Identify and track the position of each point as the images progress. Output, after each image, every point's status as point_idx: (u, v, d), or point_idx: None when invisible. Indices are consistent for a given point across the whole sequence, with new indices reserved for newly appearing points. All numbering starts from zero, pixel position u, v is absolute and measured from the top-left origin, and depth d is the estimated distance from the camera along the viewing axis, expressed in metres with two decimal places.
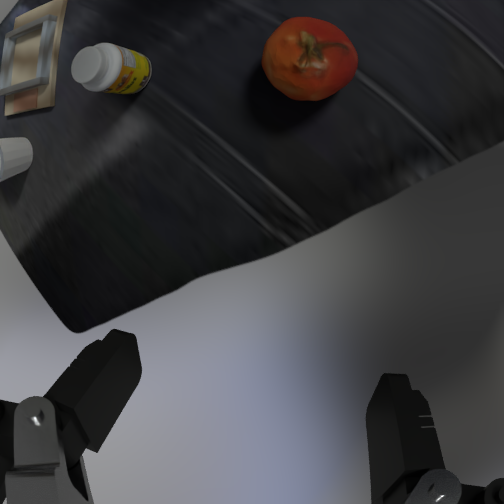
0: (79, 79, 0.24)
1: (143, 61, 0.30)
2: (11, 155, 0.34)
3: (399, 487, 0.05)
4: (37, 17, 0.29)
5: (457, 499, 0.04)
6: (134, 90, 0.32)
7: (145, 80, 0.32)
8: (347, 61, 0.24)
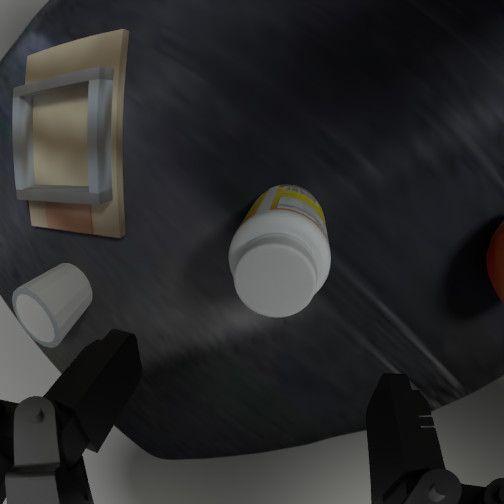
0: (259, 308, 0.16)
1: (324, 220, 0.21)
2: (66, 312, 0.26)
3: (399, 487, 0.05)
4: (70, 62, 0.20)
5: (457, 499, 0.04)
6: None
7: None
8: None
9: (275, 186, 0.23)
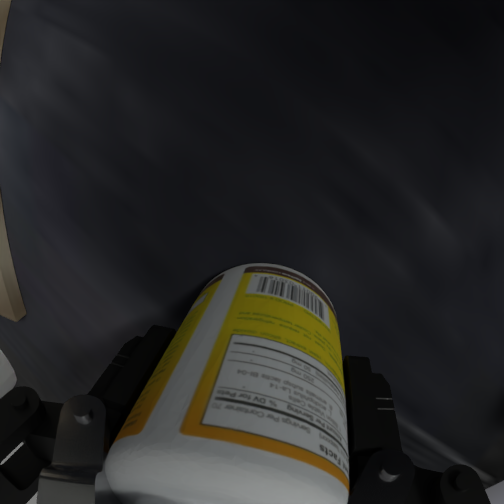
0: None
1: None
2: None
3: (353, 466, 0.06)
4: None
5: (409, 481, 0.05)
6: None
7: None
8: None
9: (238, 267, 0.11)
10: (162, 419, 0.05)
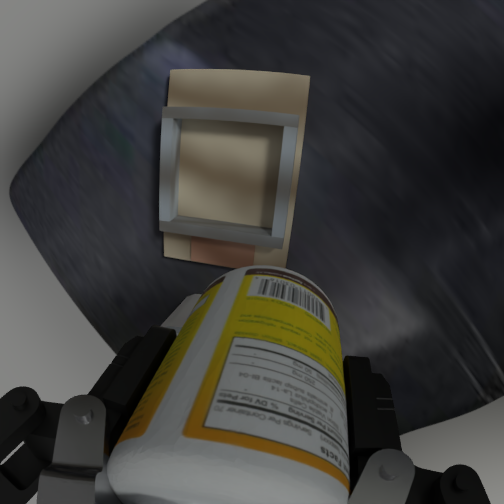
0: None
1: (341, 353, 0.09)
2: None
3: (353, 466, 0.06)
4: (240, 93, 0.24)
5: (409, 481, 0.05)
6: None
7: None
8: None
9: (239, 269, 0.11)
10: (164, 422, 0.05)
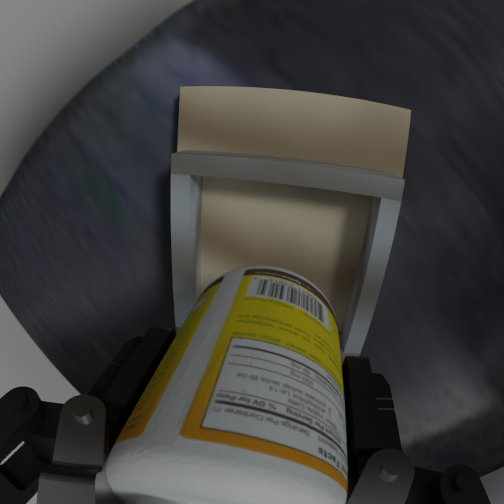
0: None
1: (340, 354, 0.09)
2: None
3: (353, 466, 0.06)
4: (300, 131, 0.15)
5: (409, 481, 0.05)
6: None
7: None
8: None
9: (237, 269, 0.11)
10: (162, 422, 0.05)
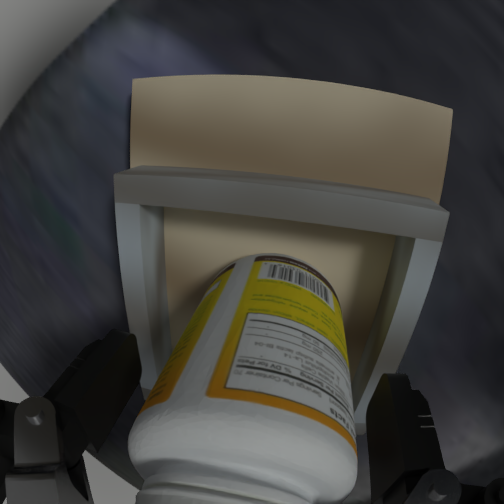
0: None
1: (344, 334, 0.10)
2: None
3: (399, 487, 0.05)
4: (299, 137, 0.10)
5: (457, 499, 0.04)
6: None
7: None
8: None
9: (248, 256, 0.12)
10: (188, 386, 0.06)
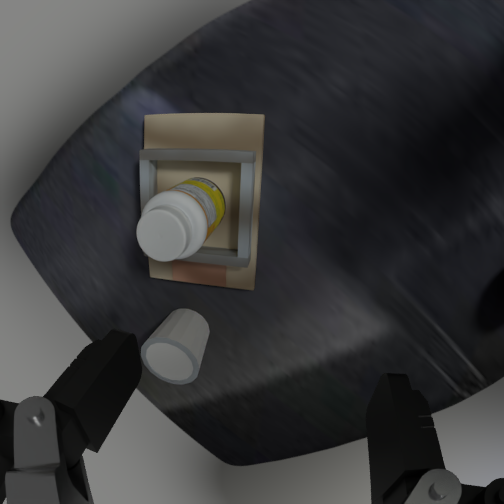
0: (153, 255, 0.23)
1: (220, 201, 0.29)
2: (201, 353, 0.33)
3: (399, 487, 0.05)
4: (204, 134, 0.29)
5: (457, 499, 0.04)
6: None
7: (221, 220, 0.30)
8: None
9: None
10: None
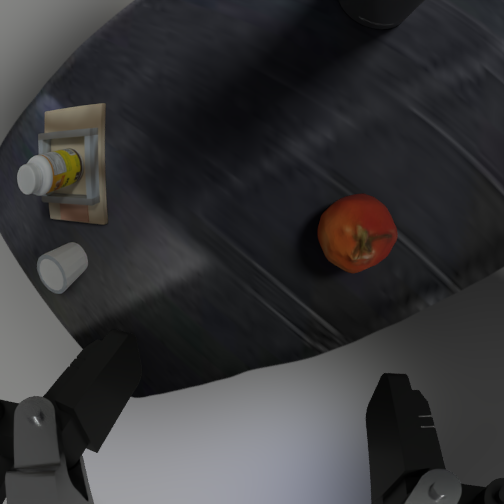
0: (23, 191, 0.33)
1: (73, 161, 0.38)
2: (71, 270, 0.44)
3: (399, 487, 0.05)
4: (72, 120, 0.39)
5: (457, 499, 0.04)
6: (71, 183, 0.41)
7: (78, 175, 0.40)
8: (389, 246, 0.33)
9: None
10: None
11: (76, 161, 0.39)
